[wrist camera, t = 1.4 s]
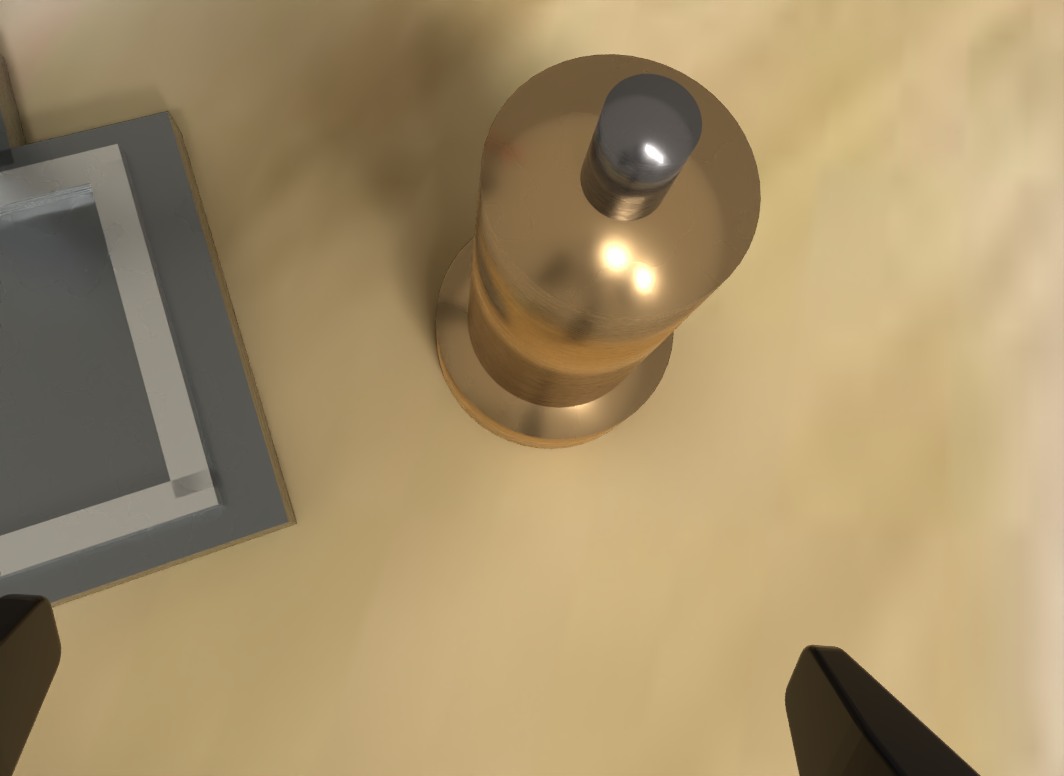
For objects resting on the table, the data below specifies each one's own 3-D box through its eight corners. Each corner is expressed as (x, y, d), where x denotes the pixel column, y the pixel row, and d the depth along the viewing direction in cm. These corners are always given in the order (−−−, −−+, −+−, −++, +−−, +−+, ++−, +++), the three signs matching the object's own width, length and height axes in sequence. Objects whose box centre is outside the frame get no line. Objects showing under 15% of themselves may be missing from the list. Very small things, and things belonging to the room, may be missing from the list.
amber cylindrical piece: (695, 319, 25) (937, 92, 13) (575, 493, 23) (721, 426, 11) (522, 195, 25) (594, -143, 13) (390, 360, 23) (331, 149, 11)
